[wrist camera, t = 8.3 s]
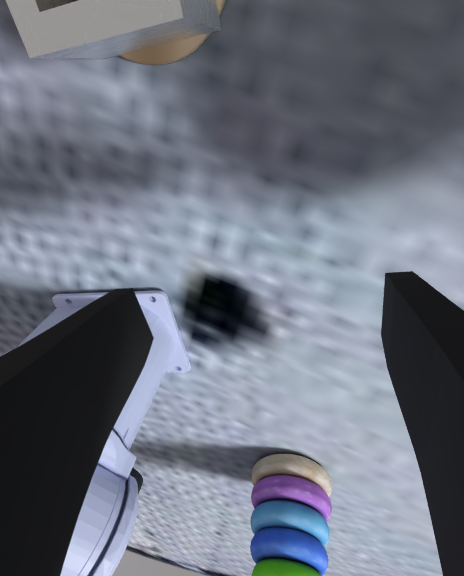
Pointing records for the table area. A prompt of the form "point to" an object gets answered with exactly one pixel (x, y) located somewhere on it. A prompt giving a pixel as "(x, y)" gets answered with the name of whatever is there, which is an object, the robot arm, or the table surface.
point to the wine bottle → (137, 478)
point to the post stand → (171, 48)
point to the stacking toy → (290, 516)
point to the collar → (108, 25)
